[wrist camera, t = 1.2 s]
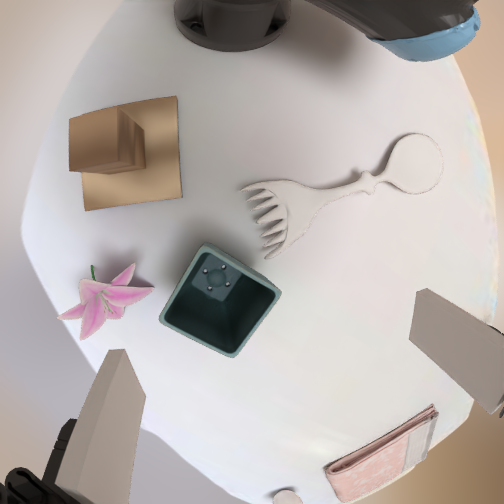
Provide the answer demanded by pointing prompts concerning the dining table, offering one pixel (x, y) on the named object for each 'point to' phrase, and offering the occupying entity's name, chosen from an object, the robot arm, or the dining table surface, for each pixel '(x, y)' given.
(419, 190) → the white spork
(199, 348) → the dining table surface
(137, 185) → the lid
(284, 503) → the white tall oval piece
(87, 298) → the lily
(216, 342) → the flower pot
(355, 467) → the towel
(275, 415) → the dining table surface
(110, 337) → the dining table surface
